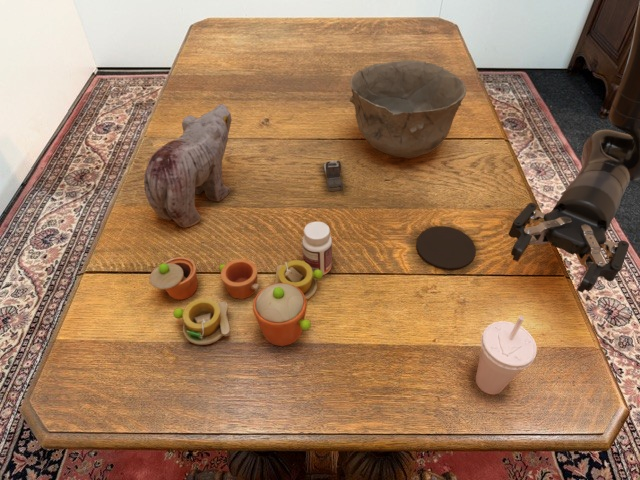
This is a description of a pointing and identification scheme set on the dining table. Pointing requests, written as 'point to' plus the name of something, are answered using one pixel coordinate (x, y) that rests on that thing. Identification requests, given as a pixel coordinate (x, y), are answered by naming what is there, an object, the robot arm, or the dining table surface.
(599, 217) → the robot arm
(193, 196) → the sculpture
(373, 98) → the bowl
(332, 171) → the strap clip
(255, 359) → the dining table surface
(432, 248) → the coaster
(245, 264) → the toy tea set
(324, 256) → the pill bottle
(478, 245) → the dining table surface
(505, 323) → the smoothie
